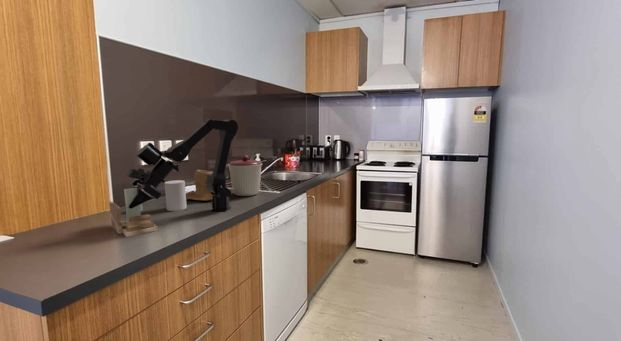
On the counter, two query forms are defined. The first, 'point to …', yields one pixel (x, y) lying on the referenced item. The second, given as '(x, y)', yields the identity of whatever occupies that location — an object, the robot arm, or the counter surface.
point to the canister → (245, 176)
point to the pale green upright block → (129, 198)
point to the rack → (124, 222)
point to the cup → (175, 195)
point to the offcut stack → (139, 223)
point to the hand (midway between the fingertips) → (128, 207)
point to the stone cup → (200, 187)
